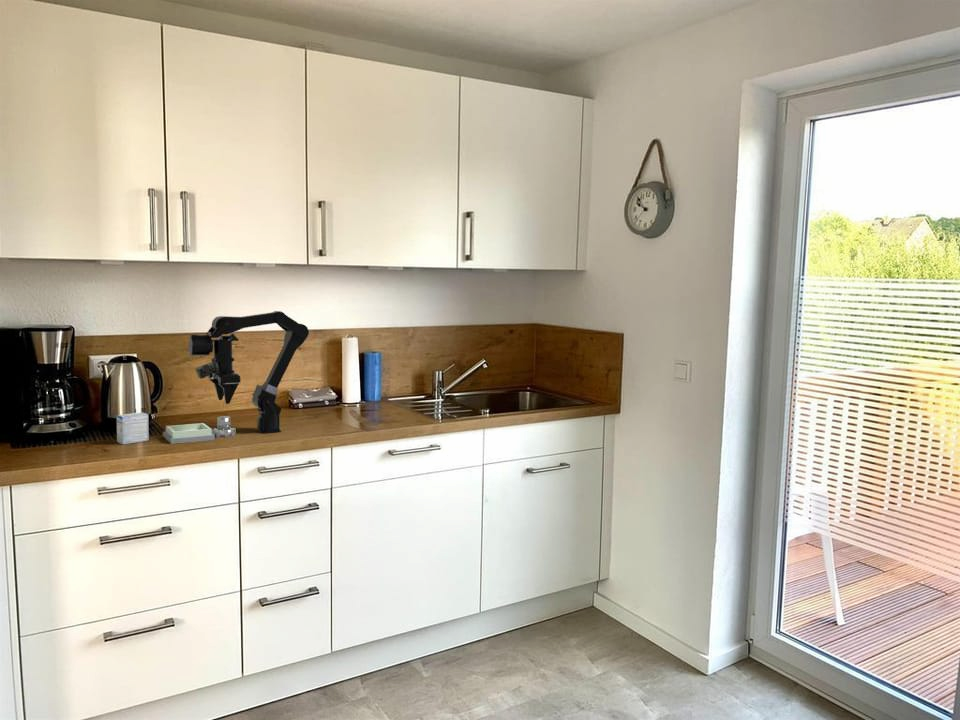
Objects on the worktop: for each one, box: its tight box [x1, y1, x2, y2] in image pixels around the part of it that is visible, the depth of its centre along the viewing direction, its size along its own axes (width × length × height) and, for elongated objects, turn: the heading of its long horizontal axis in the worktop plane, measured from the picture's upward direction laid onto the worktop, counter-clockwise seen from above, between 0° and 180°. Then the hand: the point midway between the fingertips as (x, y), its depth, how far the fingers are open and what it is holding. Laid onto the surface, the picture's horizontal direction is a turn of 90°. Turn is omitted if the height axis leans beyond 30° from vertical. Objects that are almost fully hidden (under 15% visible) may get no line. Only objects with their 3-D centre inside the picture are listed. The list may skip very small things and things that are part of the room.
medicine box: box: [116, 412, 149, 445], centre depth 219 cm, size 8×4×9 cm, turn 141°
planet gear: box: [212, 415, 237, 438], centre depth 233 cm, size 7×7×6 cm
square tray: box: [162, 422, 216, 445], centre depth 226 cm, size 13×13×4 cm
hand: (223, 401), depth 232 cm, fingers open, 9 cm apart
